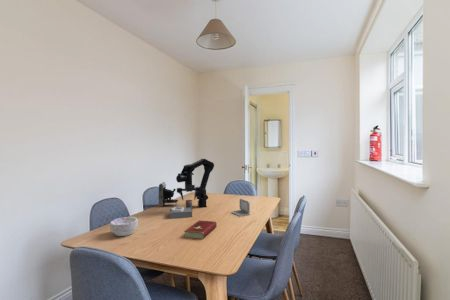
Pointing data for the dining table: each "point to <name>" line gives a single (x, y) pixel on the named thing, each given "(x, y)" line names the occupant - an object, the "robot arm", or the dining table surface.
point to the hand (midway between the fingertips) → (188, 200)
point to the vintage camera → (165, 195)
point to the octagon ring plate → (180, 212)
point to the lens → (189, 204)
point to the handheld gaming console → (243, 208)
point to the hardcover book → (200, 229)
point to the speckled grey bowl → (123, 226)
